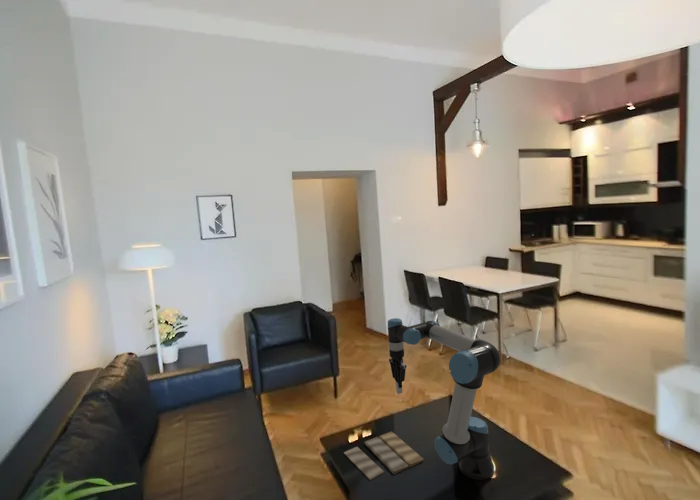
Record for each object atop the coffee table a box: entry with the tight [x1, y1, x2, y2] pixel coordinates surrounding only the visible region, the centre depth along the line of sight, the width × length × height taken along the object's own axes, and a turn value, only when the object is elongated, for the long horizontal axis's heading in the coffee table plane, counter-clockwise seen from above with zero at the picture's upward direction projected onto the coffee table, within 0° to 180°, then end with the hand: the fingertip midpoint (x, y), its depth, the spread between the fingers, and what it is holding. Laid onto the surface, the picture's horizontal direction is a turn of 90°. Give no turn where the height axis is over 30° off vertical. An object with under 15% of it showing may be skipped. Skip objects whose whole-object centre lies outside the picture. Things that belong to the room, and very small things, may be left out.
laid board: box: [378, 431, 425, 468], centre depth 190 cm, size 28×8×1 cm, turn 27°
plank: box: [343, 446, 385, 481], centre depth 182 cm, size 24×8×1 cm, turn 31°
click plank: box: [364, 436, 409, 475], centre depth 186 cm, size 28×8×1 cm, turn 27°
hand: (399, 392), depth 194 cm, fingers closed
